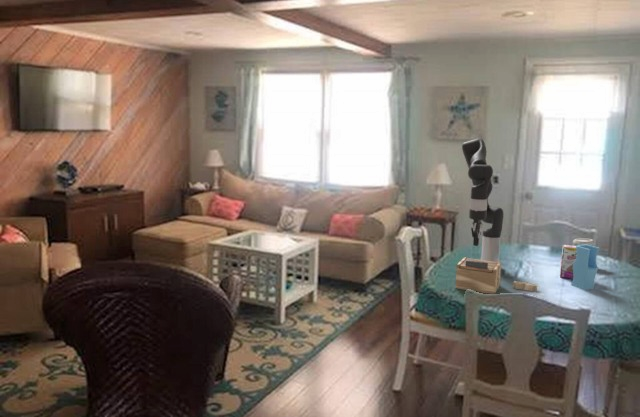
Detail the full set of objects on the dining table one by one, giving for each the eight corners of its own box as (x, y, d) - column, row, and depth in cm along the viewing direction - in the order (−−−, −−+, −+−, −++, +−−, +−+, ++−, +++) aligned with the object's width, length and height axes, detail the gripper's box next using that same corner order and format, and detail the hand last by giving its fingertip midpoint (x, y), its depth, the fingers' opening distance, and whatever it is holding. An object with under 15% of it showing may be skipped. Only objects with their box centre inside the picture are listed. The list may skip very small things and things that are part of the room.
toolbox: (463, 279, 276) (464, 257, 274) (499, 285, 268) (501, 262, 266) (455, 288, 263) (456, 264, 261) (494, 294, 255) (495, 269, 252)
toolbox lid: (467, 260, 273) (467, 253, 273) (498, 264, 267) (498, 257, 266) (459, 267, 260) (460, 260, 260) (491, 272, 253) (492, 264, 253)
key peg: (536, 290, 262) (513, 286, 266) (537, 284, 261) (514, 281, 266) (536, 292, 259) (512, 288, 264) (536, 285, 259) (513, 282, 263)
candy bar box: (560, 277, 281) (563, 246, 278) (559, 275, 285) (562, 244, 282) (584, 280, 277) (587, 248, 274) (583, 277, 282) (586, 246, 279)
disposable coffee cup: (570, 266, 300) (573, 240, 298) (570, 262, 310) (572, 236, 307) (592, 269, 296) (595, 242, 294) (590, 264, 306) (593, 238, 303)
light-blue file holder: (585, 290, 262) (589, 249, 258) (570, 285, 269) (574, 245, 265) (595, 287, 265) (600, 247, 262) (581, 283, 272) (585, 244, 269)
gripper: (473, 205, 256) (471, 241, 260) (466, 210, 245) (464, 247, 248) (489, 207, 253) (487, 243, 256) (483, 211, 241) (481, 249, 245)
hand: (475, 245), depth 252 cm, fingers closed
